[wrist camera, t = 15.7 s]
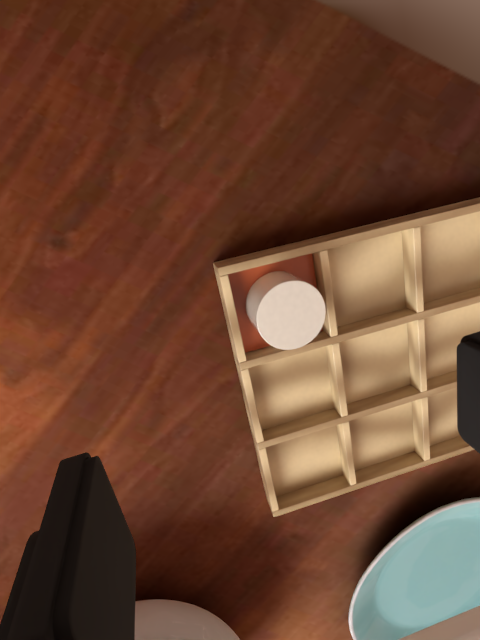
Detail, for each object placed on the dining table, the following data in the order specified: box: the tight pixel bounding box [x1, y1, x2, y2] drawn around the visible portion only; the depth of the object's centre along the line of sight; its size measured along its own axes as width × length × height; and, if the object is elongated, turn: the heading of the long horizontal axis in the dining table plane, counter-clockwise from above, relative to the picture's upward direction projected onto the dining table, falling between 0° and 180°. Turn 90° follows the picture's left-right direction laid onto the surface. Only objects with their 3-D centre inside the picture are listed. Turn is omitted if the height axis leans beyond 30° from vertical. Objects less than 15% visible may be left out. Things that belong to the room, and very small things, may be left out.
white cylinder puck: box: [246, 271, 326, 350], centre depth 28 cm, size 5×5×3 cm
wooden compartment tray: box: [213, 197, 480, 517], centre depth 33 cm, size 22×22×2 cm
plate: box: [349, 497, 480, 640], centre depth 42 cm, size 22×22×3 cm
